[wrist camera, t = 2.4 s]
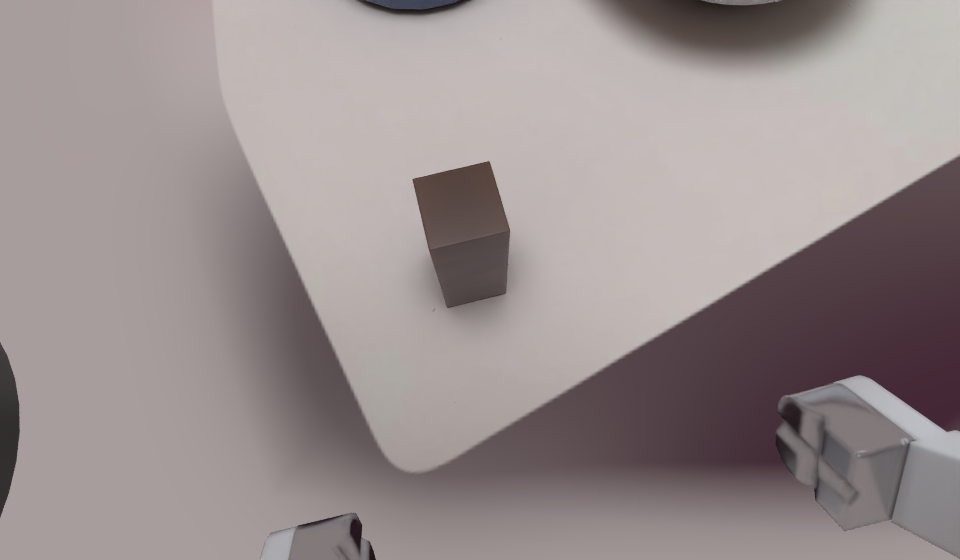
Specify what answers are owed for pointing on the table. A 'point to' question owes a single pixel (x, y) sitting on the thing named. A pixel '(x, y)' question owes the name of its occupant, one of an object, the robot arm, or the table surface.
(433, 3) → the bowl
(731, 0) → the white sink basin
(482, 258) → the block
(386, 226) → the table surface
